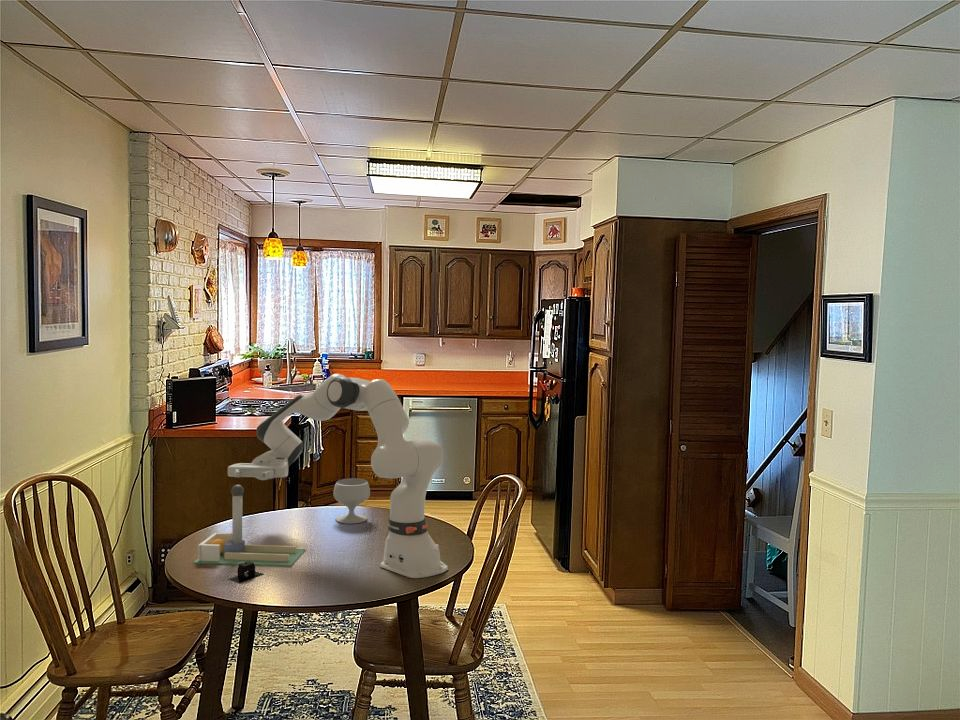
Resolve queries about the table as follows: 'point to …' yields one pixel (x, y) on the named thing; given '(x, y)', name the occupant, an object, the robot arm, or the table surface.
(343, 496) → the chalice
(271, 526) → the table surface
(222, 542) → the ball
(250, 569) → the black boxy piece
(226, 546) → the lever
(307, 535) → the table surface
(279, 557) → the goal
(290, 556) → the pitch
